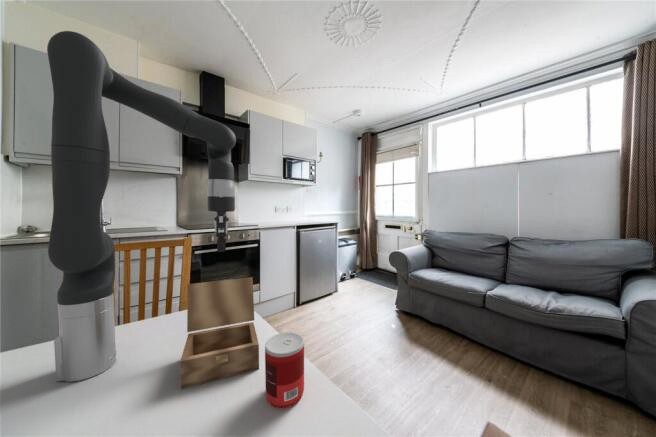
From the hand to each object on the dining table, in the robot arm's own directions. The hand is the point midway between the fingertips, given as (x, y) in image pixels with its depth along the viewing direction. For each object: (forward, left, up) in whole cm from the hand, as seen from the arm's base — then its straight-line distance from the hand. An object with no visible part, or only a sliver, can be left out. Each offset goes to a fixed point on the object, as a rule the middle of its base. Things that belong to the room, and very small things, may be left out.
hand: (221, 249), depth 73 cm
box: (0, -16, -26) cm, 30 cm away
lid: (0, -8, -14) cm, 16 cm away
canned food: (+12, -32, -26) cm, 43 cm away
